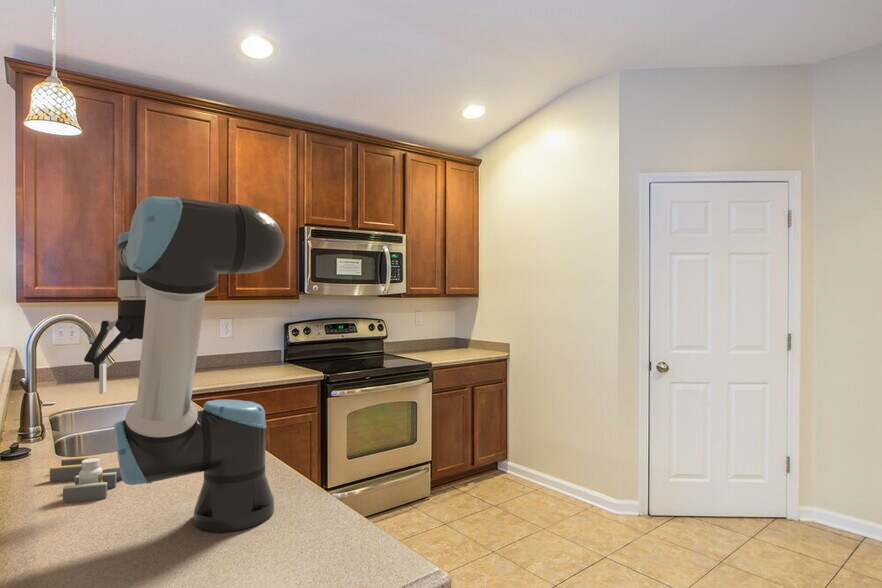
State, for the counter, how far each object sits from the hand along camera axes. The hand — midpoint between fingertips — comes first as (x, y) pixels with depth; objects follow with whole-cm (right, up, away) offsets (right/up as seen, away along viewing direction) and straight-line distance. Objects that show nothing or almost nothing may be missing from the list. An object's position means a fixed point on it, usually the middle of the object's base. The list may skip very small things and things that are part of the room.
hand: (137, 390), depth 118 cm
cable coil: (-10, -23, +5) cm, 25 cm away
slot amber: (-20, -22, +8) cm, 31 cm away
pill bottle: (-8, -23, -4) cm, 24 cm away
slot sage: (-8, -23, -4) cm, 24 cm away
